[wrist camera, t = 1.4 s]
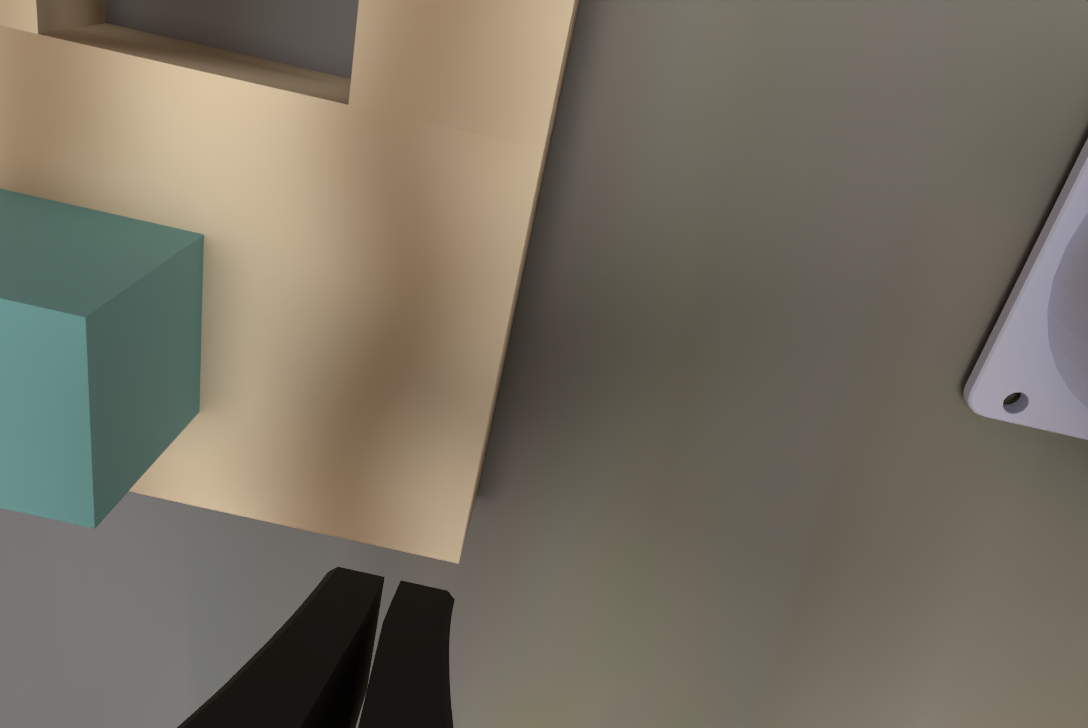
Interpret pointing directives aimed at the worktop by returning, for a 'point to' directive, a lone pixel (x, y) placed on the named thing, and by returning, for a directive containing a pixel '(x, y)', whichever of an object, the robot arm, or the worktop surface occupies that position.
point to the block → (92, 353)
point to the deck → (312, 227)
